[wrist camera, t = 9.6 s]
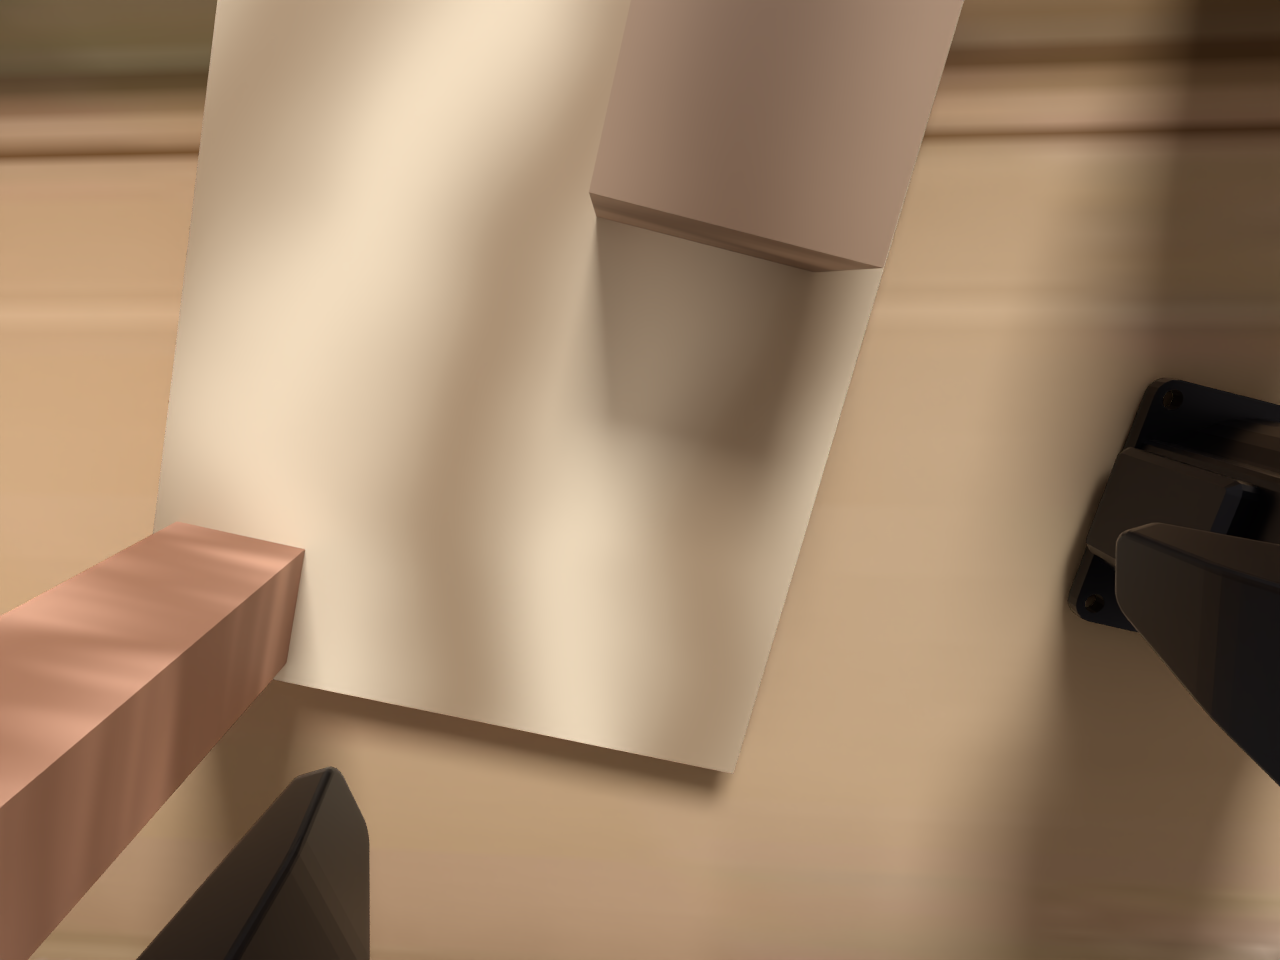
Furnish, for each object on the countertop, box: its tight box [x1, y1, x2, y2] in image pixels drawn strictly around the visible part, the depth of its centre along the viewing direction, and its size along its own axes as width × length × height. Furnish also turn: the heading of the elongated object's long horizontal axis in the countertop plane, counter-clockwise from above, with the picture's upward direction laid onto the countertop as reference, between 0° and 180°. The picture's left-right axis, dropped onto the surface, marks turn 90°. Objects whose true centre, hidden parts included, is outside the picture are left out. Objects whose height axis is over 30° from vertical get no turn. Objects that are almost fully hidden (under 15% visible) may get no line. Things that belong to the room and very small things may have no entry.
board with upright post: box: [0, 0, 964, 960], centre depth 14 cm, size 15×19×13 cm
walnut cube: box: [589, 0, 963, 272], centre depth 16 cm, size 5×5×5 cm
